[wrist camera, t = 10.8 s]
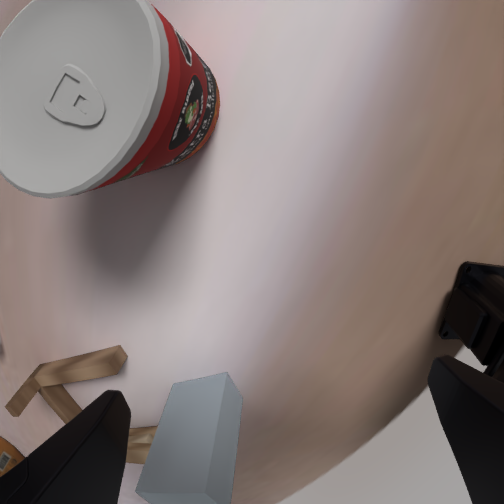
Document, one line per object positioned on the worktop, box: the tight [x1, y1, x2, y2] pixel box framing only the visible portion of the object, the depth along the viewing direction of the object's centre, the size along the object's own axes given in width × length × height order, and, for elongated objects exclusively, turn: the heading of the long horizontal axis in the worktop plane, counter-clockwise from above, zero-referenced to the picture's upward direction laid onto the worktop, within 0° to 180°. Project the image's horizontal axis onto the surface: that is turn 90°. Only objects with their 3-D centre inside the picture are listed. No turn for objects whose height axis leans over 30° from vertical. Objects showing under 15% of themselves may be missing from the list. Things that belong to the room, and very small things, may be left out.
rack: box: [5, 345, 128, 424], centre depth 23 cm, size 12×13×7 cm
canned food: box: [0, 0, 220, 198], centre depth 12 cm, size 8×8×11 cm
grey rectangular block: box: [135, 372, 243, 504], centre depth 19 cm, size 5×3×11 cm, turn 112°
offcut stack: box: [126, 426, 158, 464], centre depth 26 cm, size 7×4×3 cm, turn 112°
